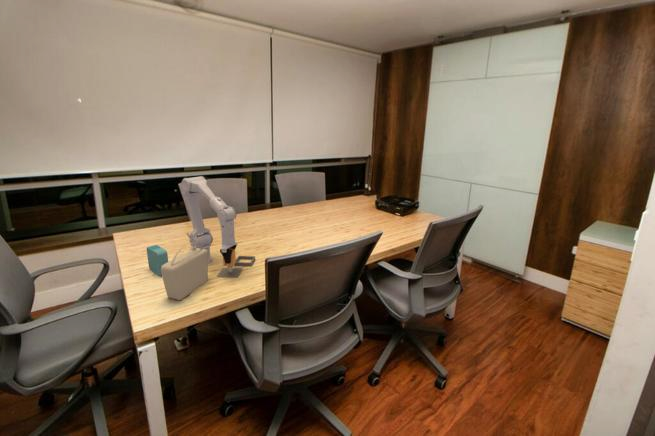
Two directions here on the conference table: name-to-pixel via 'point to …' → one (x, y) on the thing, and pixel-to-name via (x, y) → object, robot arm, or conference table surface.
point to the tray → (244, 259)
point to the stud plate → (233, 275)
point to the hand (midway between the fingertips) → (229, 260)
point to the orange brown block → (233, 258)
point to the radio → (185, 272)
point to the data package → (156, 258)
